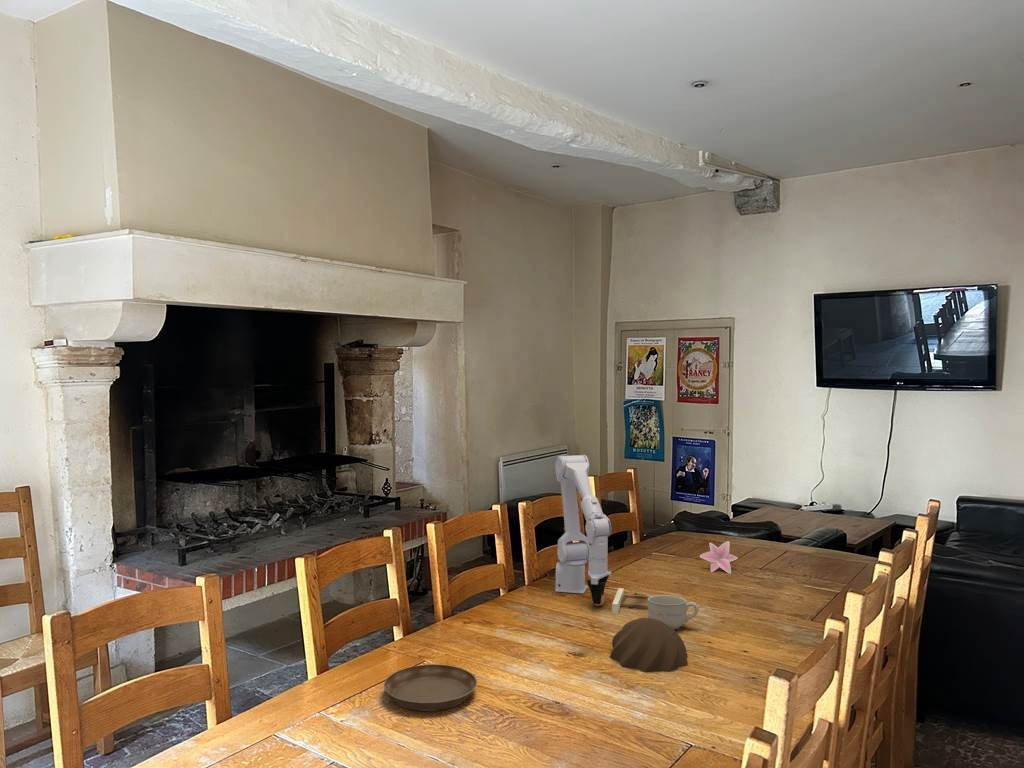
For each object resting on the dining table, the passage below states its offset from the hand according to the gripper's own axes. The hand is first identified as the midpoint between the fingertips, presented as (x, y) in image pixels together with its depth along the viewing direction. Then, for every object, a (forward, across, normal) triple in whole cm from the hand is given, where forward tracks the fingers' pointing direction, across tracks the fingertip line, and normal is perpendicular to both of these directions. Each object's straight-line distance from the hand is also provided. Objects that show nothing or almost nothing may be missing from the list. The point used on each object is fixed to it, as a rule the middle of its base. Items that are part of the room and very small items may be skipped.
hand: (597, 601), depth 228 cm
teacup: (+2, -13, -23) cm, 26 cm away
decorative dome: (+2, -36, -18) cm, 40 cm away
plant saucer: (+2, -71, +27) cm, 76 cm away
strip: (+1, +2, -6) cm, 6 cm away
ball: (-1, 0, 0) cm, 1 cm away
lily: (+2, +52, -36) cm, 63 cm away
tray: (+1, +5, -12) cm, 13 cm away
